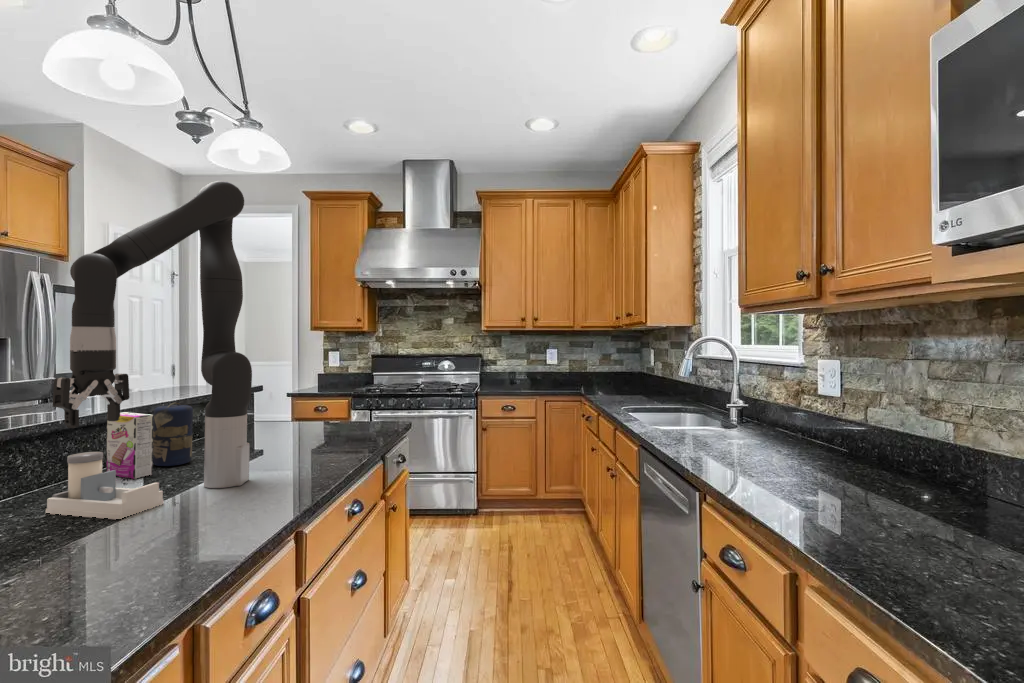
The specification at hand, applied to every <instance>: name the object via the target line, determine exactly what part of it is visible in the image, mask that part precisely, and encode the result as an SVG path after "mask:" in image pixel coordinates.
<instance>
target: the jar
mask: <svg viewBox="0 0 1024 683" xmlns="http://www.w3.org/2000/svg"><path fill="white" fill-rule="evenodd" d="M103 459H104V452H103V451H86V452H78V453H73V454H70V455H68V456H67V461H66V462H67V465H68V467H67V470H68V471H67V472H68V474H67V475H68V476H67V480H68V481H67V491H68V498H69V499H80V497H81V478H84V477H88V476H92V475H96V474H100V473H103Z"/></svg>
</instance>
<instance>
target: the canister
mask: <svg viewBox="0 0 1024 683" xmlns="http://www.w3.org/2000/svg"><path fill="white" fill-rule="evenodd" d="M193 408H194V407H192V406H191V405H186V404H181V403H178V402H172V403H170V404H169V405H160V406H157V407H155V408H154V410H153V452H152V465H155V466H157V467H173V466H180V465H184V464H185V465H186V464H187V463H189V462H191V461H192V458H193V422H194V421H193V420H194V418H193V415H194V414H193V413H194V412H193V411H194V410H193Z"/></svg>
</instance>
